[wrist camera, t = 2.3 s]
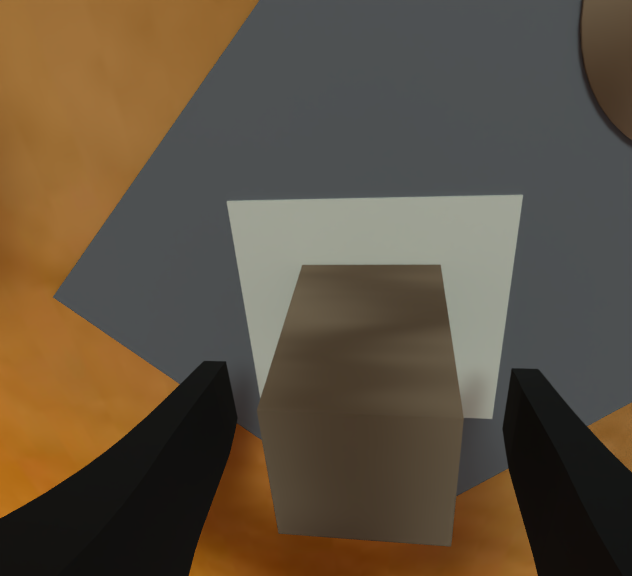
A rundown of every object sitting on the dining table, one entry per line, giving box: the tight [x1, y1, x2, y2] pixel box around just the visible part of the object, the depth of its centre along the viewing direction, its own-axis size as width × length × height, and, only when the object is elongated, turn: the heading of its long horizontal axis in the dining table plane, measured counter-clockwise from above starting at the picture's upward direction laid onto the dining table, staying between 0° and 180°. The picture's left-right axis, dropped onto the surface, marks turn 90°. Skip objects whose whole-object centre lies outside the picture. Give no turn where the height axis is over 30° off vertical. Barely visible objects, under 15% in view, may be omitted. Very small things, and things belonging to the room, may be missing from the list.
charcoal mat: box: [53, 0, 632, 496], centre depth 14 cm, size 16×24×1 cm, turn 139°
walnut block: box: [257, 265, 464, 546], centre depth 14 cm, size 4×4×6 cm
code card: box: [227, 195, 523, 419], centre depth 16 cm, size 8×8×1 cm
